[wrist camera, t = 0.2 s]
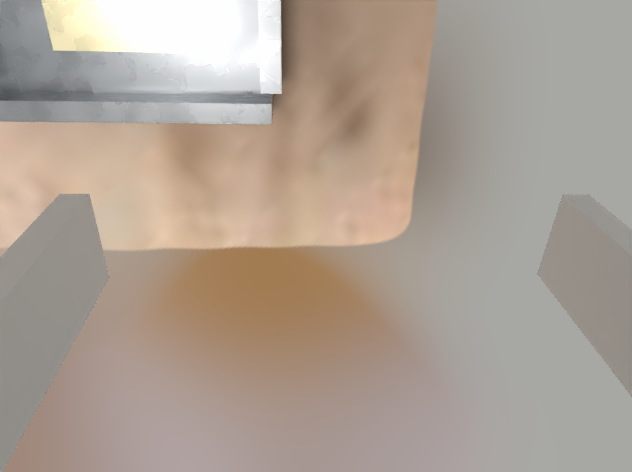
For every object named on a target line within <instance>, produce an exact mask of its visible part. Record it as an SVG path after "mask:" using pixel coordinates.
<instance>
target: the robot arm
mask: <svg viewBox="0 0 632 472" xmlns="http://www.w3.org/2000/svg"><path fill="white" fill-rule="evenodd" d="M538 276H539V277H540V278H541V280H542V281H543V282H544V283H545V285H546V286H547V287H548V289H549V290H550V291H551V293H552V294H553V295H554V296H555V298H556V299H557V300H558V302H559V303H560V304H561V306H562V307H563V308H564V309H565V311H566V312H567V313H568V315H569V316H570V317H571V318H572V320H573V321H574V322H575V324H576V325H577V326H578V328H579V329H580V330H581V331H582V333H583V334H584V335H585V337H586V338H587V339H588V341H589V342H590V343H591V344H592V346H593V347H594V348H595V350H596V351H597V352H598V353H599V355H600V356H601V357H602V359H603V360H604V361H605V363H606V364H607V365H608V366H609V368H610V369H611V370H612V372H613V373H614V374H615V375H616V377H617V378H618V379H619V381H620V382H621V383H622V385H623V386H624V387H625V389H626V390H627V391H628V392H629V394H630V395H631V396H632V229H630V228H629V227H628V226H627V225H626V224H624V223H623V222H622V221H621V220H619V219H618V218H617V217H616V216H614V215H613V214H612V213H611V212H609V211H608V210H607V209H606V208H605V207H603V206H602V205H601V204H600V203H598V202H597V201H596V200H595V199H593V198H592V197H591V196H590V195H562V198H561V201H560V204H559V208H558V211H557V214H556V217H555V220H554V223H553V226H552V230H551V233H550V236H549V239H548V242H547V245H546V248H545V251H544V255H543V258H542V261H541V264H540V267H539V270H538ZM108 279H109V274H108V270H107V266H106V262H105V257H104V254H103V249H102V245H101V241H100V237H99V232H98V228H97V224H96V220H95V216H94V212H93V207H92V203H91V199H90V195H89V194H60V195H59V196H58V197H57V198H56V199H55V200H54V201H53V202H52V203H51V204H50V205H49V206H48V207H47V208H46V209H45V210H44V212H43V213H42V214H41V215H40V216H39V217H38V218H37V219H36V220H35V221H34V222H33V223H32V224H31V225H30V226H29V227H28V229H27V230H26V231H25V232H24V233H23V234H22V235H21V236H20V237H19V238H18V239H17V240H16V241H15V242H14V243H13V244H12V246H11V247H10V248H9V249H8V250H7V251H6V252H5V253H4V254H3V255H2V256H1V257H0V472H3V471H4V469H5V467H6V465H7V463H8V461H9V459H10V458H11V456H12V454H13V452H14V450H15V449H16V447H17V445H18V443H19V441H20V439H21V438H22V436H23V434H24V432H25V430H26V429H27V427H28V425H29V423H30V421H31V419H32V418H33V415H34V414H35V412H36V410H37V409H38V407H39V405H40V403H41V401H42V399H43V397H44V395H45V394H46V392H47V390H48V388H49V387H50V385H51V383H52V381H53V379H54V378H55V376H56V374H57V372H58V370H59V368H60V367H61V365H62V363H63V361H64V359H65V357H66V356H67V354H68V352H69V350H70V348H71V347H72V345H73V343H74V341H75V339H76V337H77V336H78V334H79V332H80V330H81V328H82V326H83V325H84V323H85V321H86V319H87V317H88V316H89V313H90V311H91V310H92V308H93V306H94V305H95V303H96V301H97V299H98V297H99V295H100V294H101V292H102V290H103V288H104V286H105V285H106V283H107V281H108Z"/></svg>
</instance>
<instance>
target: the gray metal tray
mask: <svg viewBox="0 0 632 472" xmlns="http://www.w3.org/2000/svg"><path fill="white" fill-rule="evenodd" d="M273 94H282V44H281V0H0V121H16V122H108V123H201V124H272V116H273V106H272V105H273Z"/></svg>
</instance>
